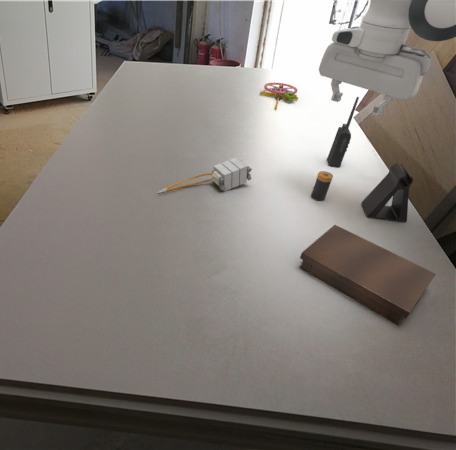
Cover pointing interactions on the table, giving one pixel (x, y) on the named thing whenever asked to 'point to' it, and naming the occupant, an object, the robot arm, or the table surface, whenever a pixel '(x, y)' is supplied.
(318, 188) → the battery
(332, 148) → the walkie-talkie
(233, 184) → the electrical component
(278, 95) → the mechanical gear assembly
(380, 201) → the phone stand
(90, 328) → the table surface
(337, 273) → the block
